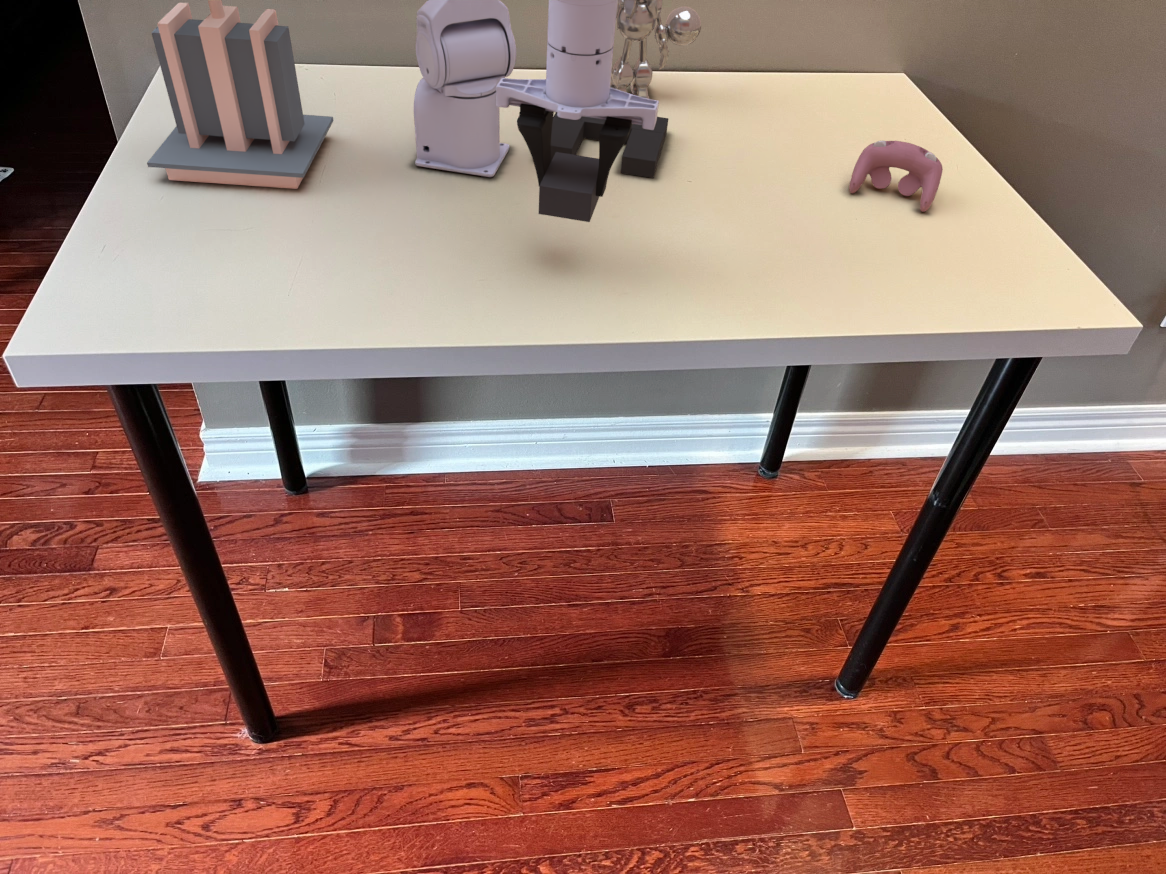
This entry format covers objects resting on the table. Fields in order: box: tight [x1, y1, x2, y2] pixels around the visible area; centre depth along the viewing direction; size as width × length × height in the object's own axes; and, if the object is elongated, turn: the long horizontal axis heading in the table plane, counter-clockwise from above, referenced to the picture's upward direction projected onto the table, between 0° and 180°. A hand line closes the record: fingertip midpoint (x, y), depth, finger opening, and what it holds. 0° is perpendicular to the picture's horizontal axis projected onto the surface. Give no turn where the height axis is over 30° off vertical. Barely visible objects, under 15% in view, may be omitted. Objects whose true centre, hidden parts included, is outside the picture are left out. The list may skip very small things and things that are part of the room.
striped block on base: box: [146, 0, 334, 190], centre depth 90 cm, size 18×14×33 cm
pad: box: [538, 152, 600, 223], centre depth 85 cm, size 5×7×3 cm
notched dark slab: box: [551, 112, 669, 179], centre depth 109 cm, size 14×12×2 cm
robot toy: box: [610, 0, 702, 99], centre depth 116 cm, size 15×6×15 cm, turn 105°
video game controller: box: [848, 140, 943, 213], centre depth 104 cm, size 10×5×7 cm, turn 65°
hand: (572, 187), depth 85 cm, fingers closed on pad, 5 cm apart
